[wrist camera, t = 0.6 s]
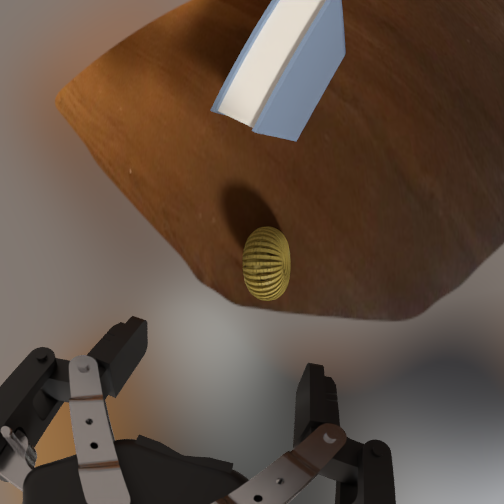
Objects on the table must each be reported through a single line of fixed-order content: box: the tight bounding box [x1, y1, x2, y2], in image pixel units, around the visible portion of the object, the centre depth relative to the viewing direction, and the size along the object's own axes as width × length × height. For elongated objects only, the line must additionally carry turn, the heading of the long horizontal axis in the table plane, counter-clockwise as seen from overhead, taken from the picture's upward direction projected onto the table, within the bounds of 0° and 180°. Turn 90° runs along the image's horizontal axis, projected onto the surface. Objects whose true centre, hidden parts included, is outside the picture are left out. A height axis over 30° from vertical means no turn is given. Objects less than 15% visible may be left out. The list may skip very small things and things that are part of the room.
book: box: [210, 0, 345, 141], centre depth 22 cm, size 4×12×15 cm, turn 153°
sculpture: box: [243, 226, 291, 301], centre depth 32 cm, size 8×4×8 cm, turn 8°
